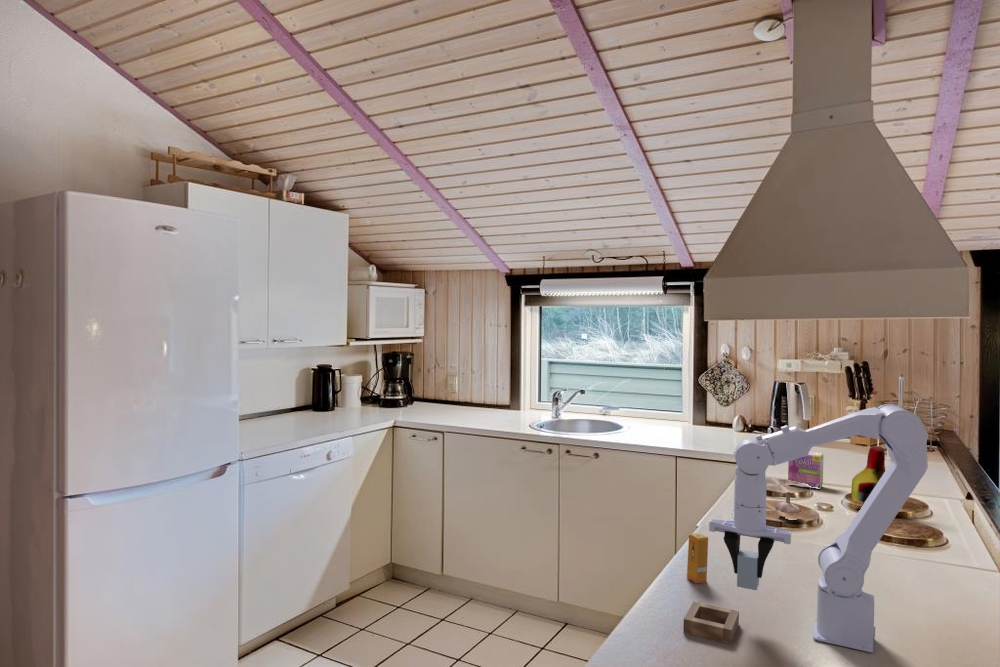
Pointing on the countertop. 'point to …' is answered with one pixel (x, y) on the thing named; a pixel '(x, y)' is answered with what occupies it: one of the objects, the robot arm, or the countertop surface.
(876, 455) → the bottle
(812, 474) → the box
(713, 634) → the walnut holder
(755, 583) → the peg
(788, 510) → the garlic bulb
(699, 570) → the supplement box
